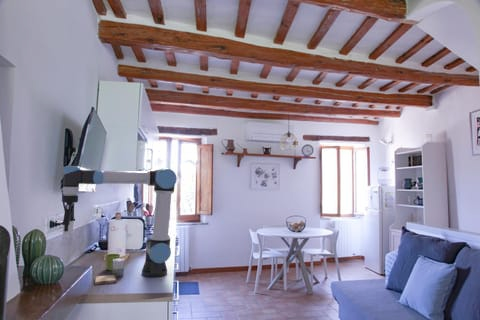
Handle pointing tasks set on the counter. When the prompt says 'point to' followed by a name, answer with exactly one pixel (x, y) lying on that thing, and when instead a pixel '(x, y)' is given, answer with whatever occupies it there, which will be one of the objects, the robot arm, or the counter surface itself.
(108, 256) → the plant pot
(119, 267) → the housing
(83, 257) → the counter surface
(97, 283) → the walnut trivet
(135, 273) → the counter surface
